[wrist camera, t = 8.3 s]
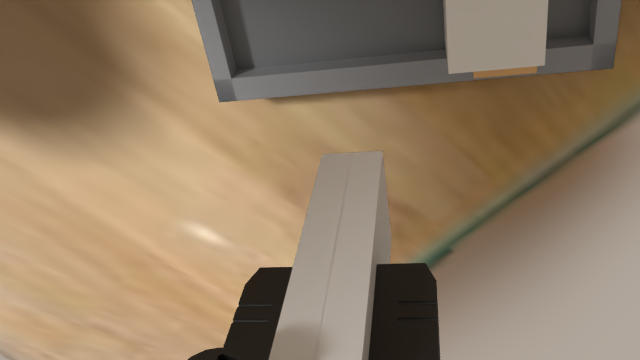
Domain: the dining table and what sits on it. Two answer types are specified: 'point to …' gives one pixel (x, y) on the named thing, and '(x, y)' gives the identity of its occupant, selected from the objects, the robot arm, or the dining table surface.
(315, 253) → the robot arm
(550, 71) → the gray divided tray
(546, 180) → the dining table surface
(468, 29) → the off-white cube
